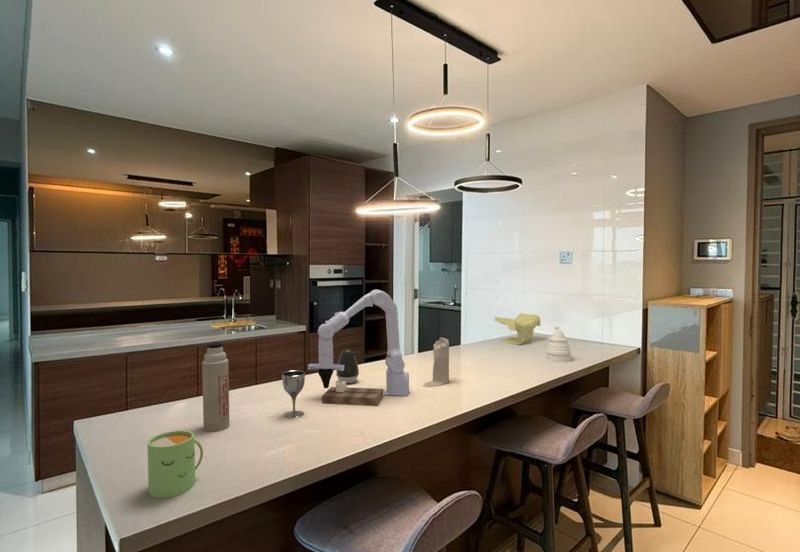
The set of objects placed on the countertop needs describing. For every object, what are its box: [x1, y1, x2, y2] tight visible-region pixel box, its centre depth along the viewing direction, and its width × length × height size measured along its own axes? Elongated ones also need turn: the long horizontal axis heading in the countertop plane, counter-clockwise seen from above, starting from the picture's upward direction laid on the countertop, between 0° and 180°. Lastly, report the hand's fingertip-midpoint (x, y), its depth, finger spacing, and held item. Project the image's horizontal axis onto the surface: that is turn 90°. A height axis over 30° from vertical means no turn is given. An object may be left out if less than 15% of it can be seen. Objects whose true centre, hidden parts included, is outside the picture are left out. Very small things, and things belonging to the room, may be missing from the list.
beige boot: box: [422, 337, 450, 388], centre depth 193 cm, size 7×14×20 cm, turn 131°
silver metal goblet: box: [281, 369, 306, 419], centre depth 155 cm, size 8×8×15 cm
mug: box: [147, 430, 204, 499], centre depth 106 cm, size 13×10×12 cm
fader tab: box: [335, 380, 347, 392], centre depth 172 cm, size 3×4×3 cm
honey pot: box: [545, 326, 572, 363], centre depth 239 cm, size 13×13×18 cm
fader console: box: [321, 386, 384, 407], centre depth 172 cm, size 22×12×3 cm, turn 81°
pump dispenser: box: [335, 348, 360, 385], centre depth 197 cm, size 10×10×15 cm
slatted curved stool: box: [494, 312, 541, 345], centre depth 291 cm, size 30×16×18 cm, turn 131°
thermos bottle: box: [201, 342, 231, 433], centre depth 144 cm, size 8×8×28 cm
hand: (326, 387), depth 173 cm, fingers closed
